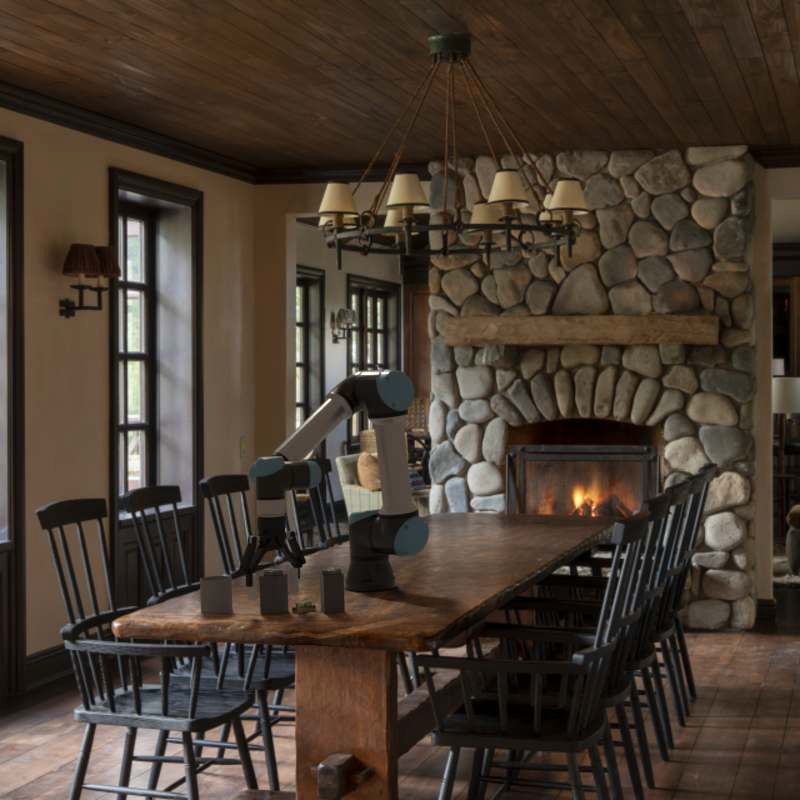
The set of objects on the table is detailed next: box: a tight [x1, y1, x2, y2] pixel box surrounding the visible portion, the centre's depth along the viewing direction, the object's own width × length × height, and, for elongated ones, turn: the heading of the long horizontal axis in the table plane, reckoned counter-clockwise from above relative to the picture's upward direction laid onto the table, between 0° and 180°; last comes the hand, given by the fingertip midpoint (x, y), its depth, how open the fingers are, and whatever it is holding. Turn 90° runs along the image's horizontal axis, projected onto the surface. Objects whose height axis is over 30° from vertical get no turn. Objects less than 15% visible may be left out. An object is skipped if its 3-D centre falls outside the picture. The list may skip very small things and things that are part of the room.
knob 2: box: [319, 567, 346, 615], centre depth 344 cm, size 5×5×11 cm
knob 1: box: [258, 568, 289, 616], centre depth 345 cm, size 5×5×11 cm
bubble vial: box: [291, 600, 317, 615], centre depth 345 cm, size 6×2×3 cm, turn 131°
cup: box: [199, 575, 234, 615], centre depth 350 cm, size 8×8×10 cm
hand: (273, 595), depth 345 cm, fingers open, 13 cm apart
